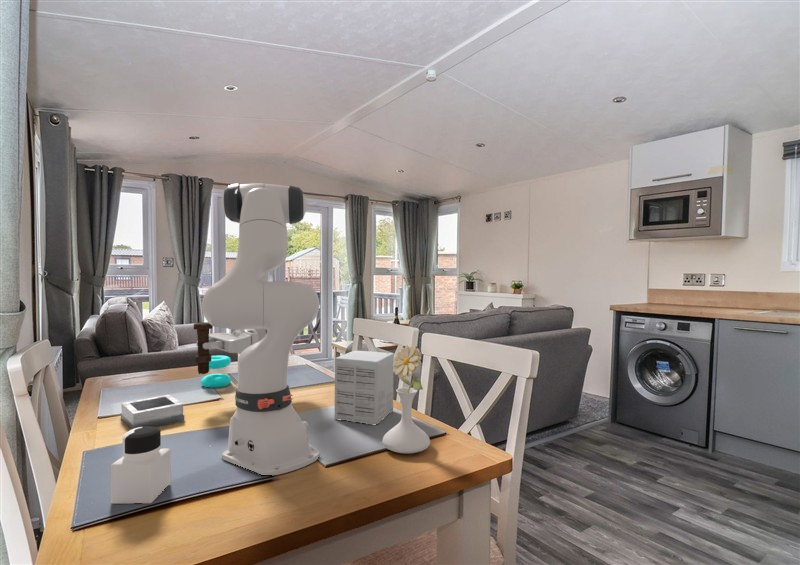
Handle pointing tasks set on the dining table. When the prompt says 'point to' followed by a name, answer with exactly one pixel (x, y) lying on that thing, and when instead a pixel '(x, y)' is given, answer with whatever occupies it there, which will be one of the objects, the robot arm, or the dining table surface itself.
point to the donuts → (218, 379)
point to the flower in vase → (407, 406)
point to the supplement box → (364, 386)
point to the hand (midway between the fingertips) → (200, 344)
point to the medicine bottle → (140, 468)
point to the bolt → (203, 354)
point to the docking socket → (152, 412)
